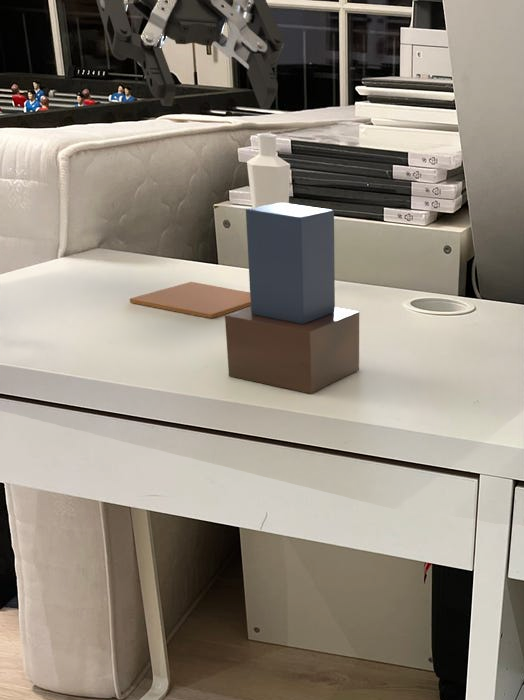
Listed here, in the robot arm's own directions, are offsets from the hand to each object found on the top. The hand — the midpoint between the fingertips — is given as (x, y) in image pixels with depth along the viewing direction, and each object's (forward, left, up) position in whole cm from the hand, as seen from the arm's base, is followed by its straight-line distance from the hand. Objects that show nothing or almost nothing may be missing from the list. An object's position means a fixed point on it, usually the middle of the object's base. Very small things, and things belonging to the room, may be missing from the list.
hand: (220, 100), depth 80 cm
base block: (-5, -10, -20) cm, 22 cm away
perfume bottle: (+22, +10, -20) cm, 31 cm away
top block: (-5, -10, -15) cm, 18 cm away
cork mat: (+10, +11, -20) cm, 25 cm away
